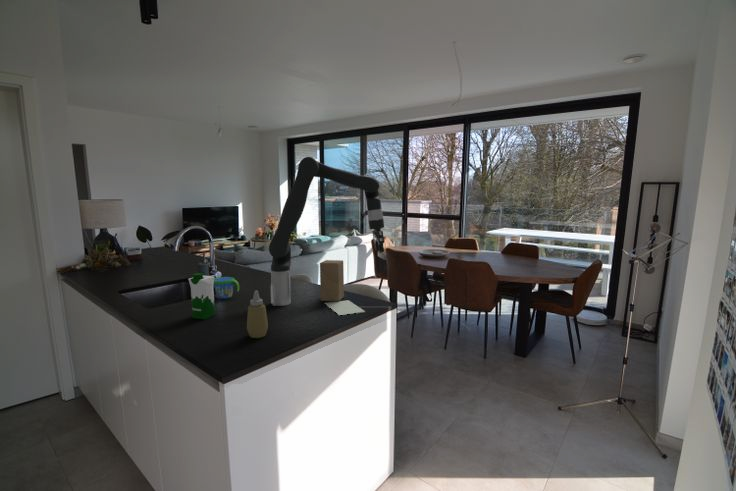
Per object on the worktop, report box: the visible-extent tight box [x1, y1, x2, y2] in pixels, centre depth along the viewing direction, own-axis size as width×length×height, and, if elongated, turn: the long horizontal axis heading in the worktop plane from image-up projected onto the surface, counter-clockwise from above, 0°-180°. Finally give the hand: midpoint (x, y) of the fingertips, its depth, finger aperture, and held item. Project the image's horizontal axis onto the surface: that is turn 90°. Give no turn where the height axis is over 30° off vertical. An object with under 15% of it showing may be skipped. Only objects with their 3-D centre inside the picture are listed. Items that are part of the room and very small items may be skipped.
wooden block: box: [319, 259, 345, 302], centre depth 192 cm, size 10×10×20 cm
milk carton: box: [187, 272, 217, 320], centre depth 164 cm, size 9×9×20 cm
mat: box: [324, 300, 366, 317], centre depth 179 cm, size 13×20×1 cm, turn 26°
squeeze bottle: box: [246, 290, 269, 339], centre depth 142 cm, size 8×8×18 cm
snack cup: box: [213, 276, 240, 300], centre depth 195 cm, size 16×10×10 cm
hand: (379, 251), depth 183 cm, fingers open, 8 cm apart
